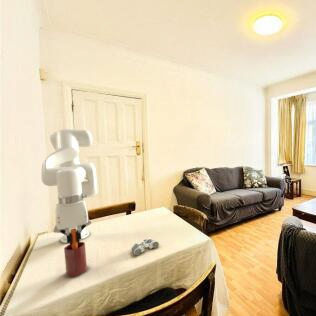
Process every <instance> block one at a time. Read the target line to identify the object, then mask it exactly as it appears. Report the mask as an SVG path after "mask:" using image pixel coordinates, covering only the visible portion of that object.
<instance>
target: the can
mask: <svg viewBox="0 0 316 316" xmlns="http://www.w3.org/2000/svg"><path fill="white" fill-rule="evenodd" d="M77 245H78V248H76V249H73V250H72V244H71V245H70V244H67V245H66V246H65V247H64V248H63V251H64V263H65V264H64V265H65V273H66V277H67V278H75V277H78V276H80V275H83V274H84V273H86V271H87V270H88V265H87V253H86V243H85V241H79V243H77Z"/></svg>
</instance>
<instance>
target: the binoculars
mask: <svg viewBox="0 0 316 316" xmlns="http://www.w3.org/2000/svg"><path fill="white" fill-rule="evenodd" d="M159 245H160V242H159V241H157V240H154V239H152V238H151V237H148V238H147V239H144V240H142V241H141V242H140V243H138V242H135V243H134V244H133V245H132V246H131V248H130V249H131V251H132V252H133V254H134V255H135V256H139V255H141V253H143V252H144V251H145V248H149V249H151V250H152V249H155V248H158V247H159Z"/></svg>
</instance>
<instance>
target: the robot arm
mask: <svg viewBox="0 0 316 316" xmlns="http://www.w3.org/2000/svg"><path fill="white" fill-rule="evenodd" d="M49 139H50V143H51V145H52V147H53V149H54V151H52V153H50V154H49V155H47V156H46V157H45V159H44V160H43V162H42V164H41V174H40V175H41V182H42V184H43V185H44V186H48V187H55V186H56V188H57V198H58V203H56V204H55V225H54V228H53V230H52V231H53V233H54V234H55V233H56V234H62V235H63V236H62V237H60V242H61V243H64V244H65V243H66V244H68V243H69V245H71V244H72V237H71V229H76V234H77V243H79V242H80V241H81V240H84V239H86V238H87V237H88V236H89V235H90V231H88V230H86V227H88V226H90V225H91V224H92V222H91V219H89V213H88V208H87V207H88V206H87V202H86V200H85V199H88V198H93V197H96V196H98V189H99V188H98V179H97V169H96V166H95V163H93V162H80V158H79V156H80V148H88V147H90V146H92V144H93V141H94V140H93V139H94V138H93V135H92V133H91V131H89V130H88V129H76V128H75V129H74V128H73V129H70V128H64V129H60V130H58V131H53V132H52V133H50V135H49ZM57 166H59V167H57ZM85 180H86V181H85Z"/></svg>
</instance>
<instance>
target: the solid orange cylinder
mask: <svg viewBox="0 0 316 316" xmlns="http://www.w3.org/2000/svg"><path fill="white" fill-rule="evenodd" d="M71 237H72V250H73V249H76V248H78V245H77V234H76V229H71Z"/></svg>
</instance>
